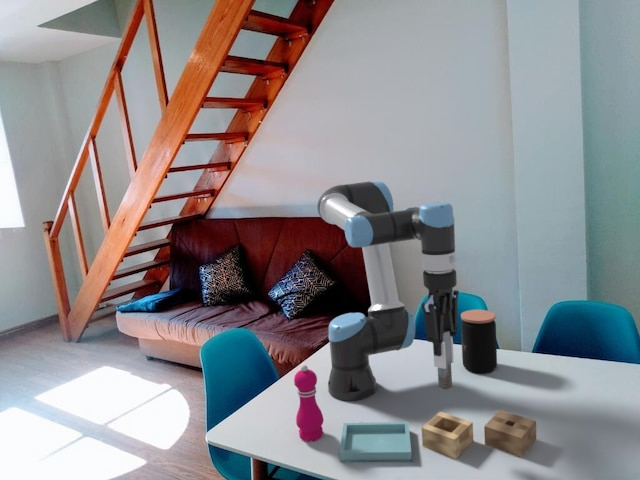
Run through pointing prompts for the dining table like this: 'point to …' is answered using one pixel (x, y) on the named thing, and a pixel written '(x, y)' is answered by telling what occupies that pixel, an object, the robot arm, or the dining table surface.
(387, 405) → the dining table surface
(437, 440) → the oak block wide bore
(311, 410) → the pepper mill
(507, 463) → the dining table surface
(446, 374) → the cylinder
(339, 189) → the robot arm
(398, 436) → the teal tray
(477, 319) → the coffee jar
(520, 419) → the walnut block narrow bore
